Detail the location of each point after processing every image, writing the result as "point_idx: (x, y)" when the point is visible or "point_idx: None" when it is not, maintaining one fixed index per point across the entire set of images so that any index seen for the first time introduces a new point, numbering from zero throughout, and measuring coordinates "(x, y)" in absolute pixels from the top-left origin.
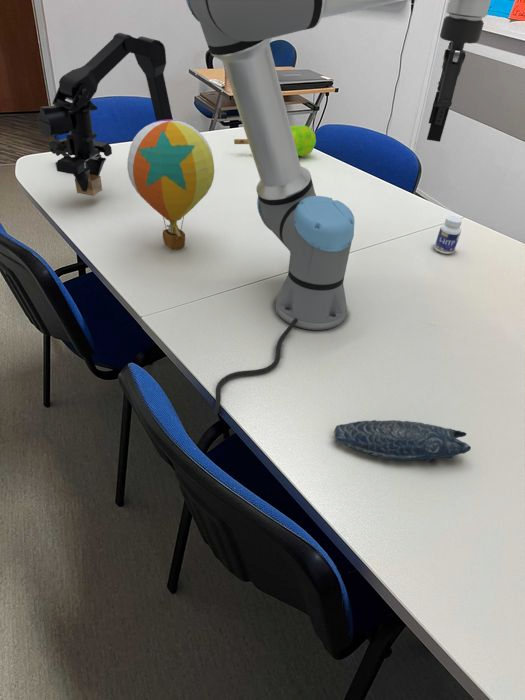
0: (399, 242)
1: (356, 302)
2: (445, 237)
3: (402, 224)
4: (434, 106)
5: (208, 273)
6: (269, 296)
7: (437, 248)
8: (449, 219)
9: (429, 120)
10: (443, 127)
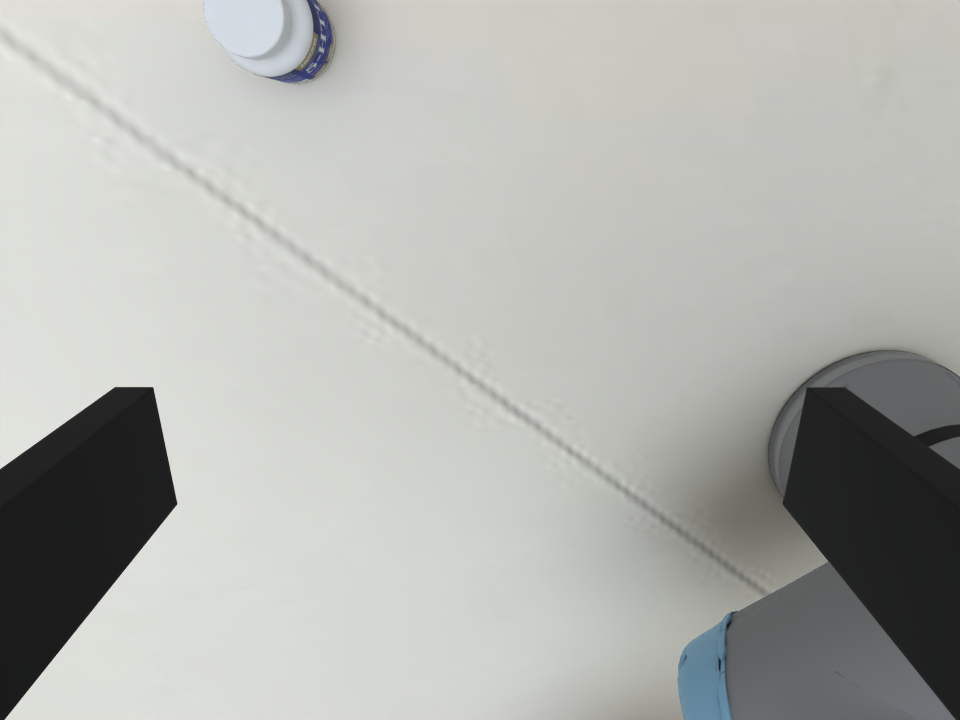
0: (318, 230)
1: (796, 329)
2: (317, 45)
3: (142, 229)
4: (68, 619)
5: None
6: None
7: (323, 71)
8: (265, 40)
9: (161, 518)
10: (943, 464)
